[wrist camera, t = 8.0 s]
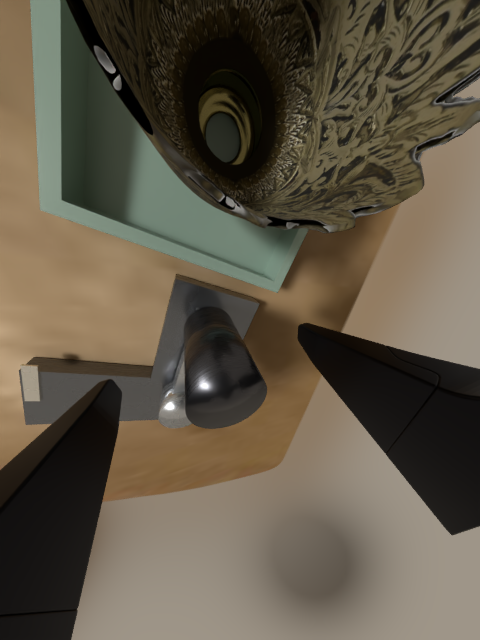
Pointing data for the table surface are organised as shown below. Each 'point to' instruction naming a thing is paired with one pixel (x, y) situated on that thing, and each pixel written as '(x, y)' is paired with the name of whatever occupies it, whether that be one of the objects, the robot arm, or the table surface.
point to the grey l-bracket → (134, 381)
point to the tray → (133, 166)
